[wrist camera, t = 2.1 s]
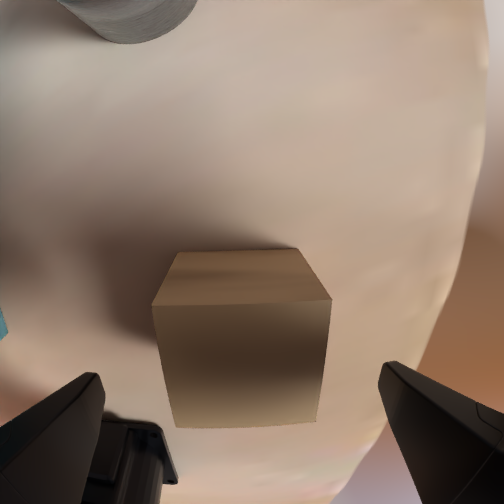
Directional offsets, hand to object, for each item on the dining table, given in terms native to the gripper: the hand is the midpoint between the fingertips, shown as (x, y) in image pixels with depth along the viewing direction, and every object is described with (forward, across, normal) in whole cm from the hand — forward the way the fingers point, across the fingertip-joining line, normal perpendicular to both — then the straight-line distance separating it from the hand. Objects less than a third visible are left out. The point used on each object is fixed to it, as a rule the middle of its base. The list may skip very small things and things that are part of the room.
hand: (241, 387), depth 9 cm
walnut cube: (+5, 0, 0) cm, 5 cm away
